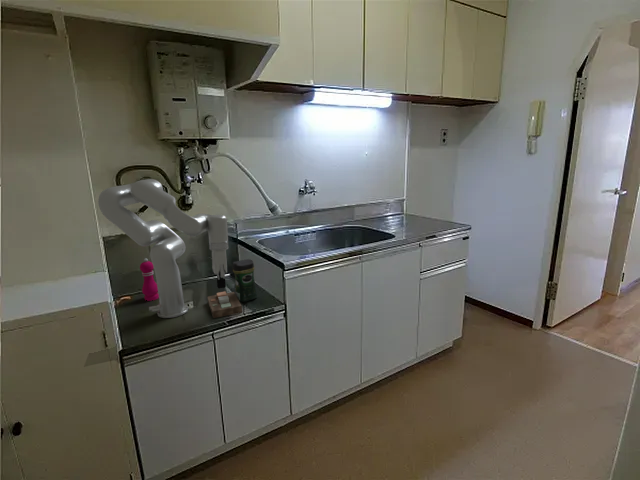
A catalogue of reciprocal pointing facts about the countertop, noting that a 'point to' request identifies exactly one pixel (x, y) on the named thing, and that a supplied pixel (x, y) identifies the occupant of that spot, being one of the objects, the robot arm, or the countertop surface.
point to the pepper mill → (149, 281)
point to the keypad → (219, 312)
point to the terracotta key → (221, 294)
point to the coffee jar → (244, 280)
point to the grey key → (223, 299)
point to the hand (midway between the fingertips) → (221, 287)
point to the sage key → (225, 305)
